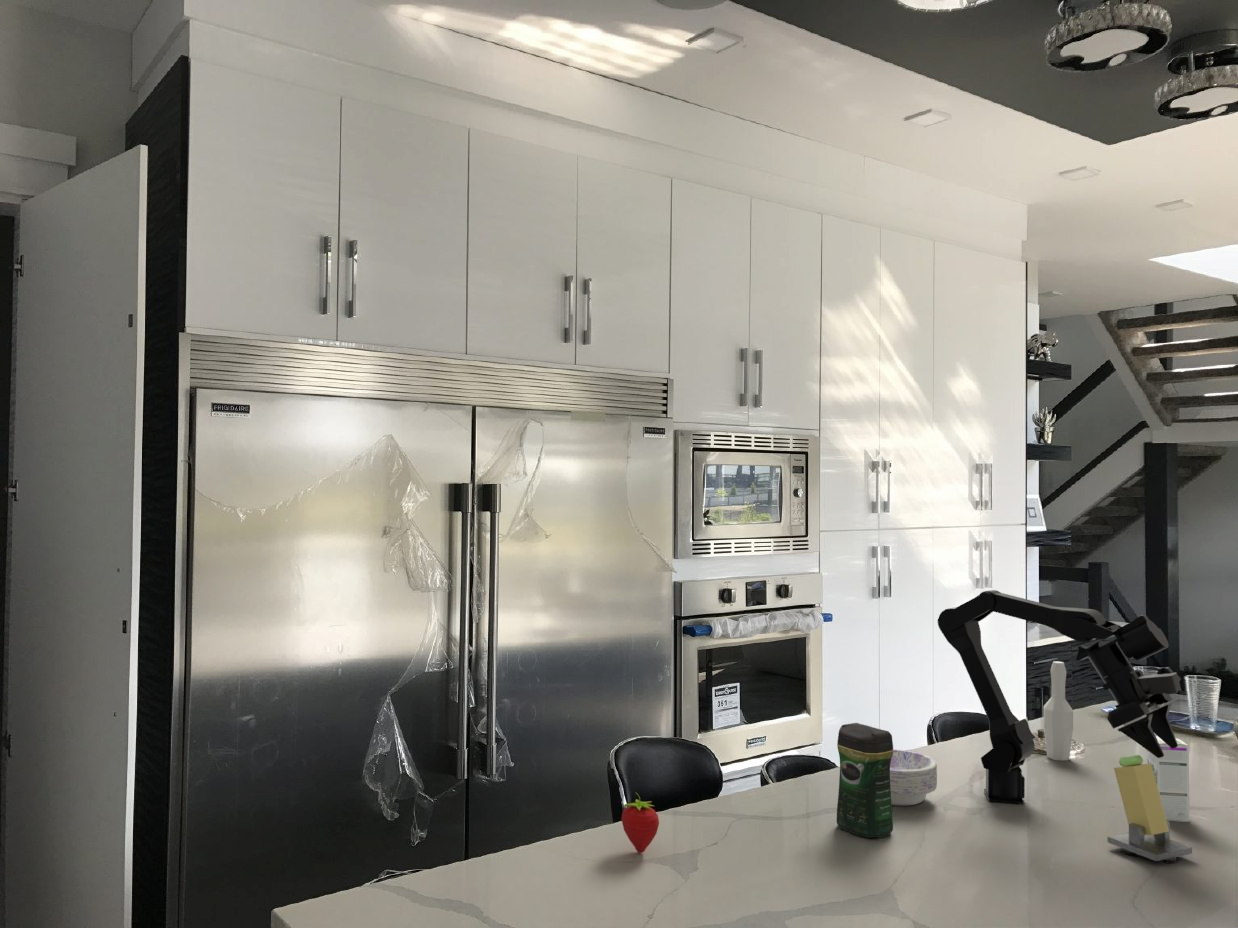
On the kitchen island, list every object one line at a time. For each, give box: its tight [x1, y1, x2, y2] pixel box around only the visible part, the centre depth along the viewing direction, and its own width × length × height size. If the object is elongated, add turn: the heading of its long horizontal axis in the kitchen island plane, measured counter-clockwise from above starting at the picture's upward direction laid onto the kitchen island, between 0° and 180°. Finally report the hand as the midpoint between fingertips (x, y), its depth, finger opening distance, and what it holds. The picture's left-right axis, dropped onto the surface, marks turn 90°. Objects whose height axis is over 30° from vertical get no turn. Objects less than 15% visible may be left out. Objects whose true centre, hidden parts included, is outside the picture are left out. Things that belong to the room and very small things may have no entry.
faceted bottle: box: [1043, 661, 1074, 762], centre depth 221 cm, size 6×6×22 cm
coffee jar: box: [836, 722, 894, 838], centre depth 171 cm, size 10×8×19 cm
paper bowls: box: [890, 748, 938, 807], centre depth 189 cm, size 15×15×8 cm
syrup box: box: [1147, 735, 1191, 823], centre depth 182 cm, size 6×6×14 cm
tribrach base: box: [1107, 821, 1193, 865], centre depth 162 cm, size 9×9×5 cm
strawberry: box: [621, 792, 660, 854], centre depth 158 cm, size 6×8×10 cm
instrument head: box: [1113, 754, 1169, 835], centre depth 164 cm, size 4×4×13 cm
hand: (1168, 752), depth 171 cm, fingers open, 9 cm apart
